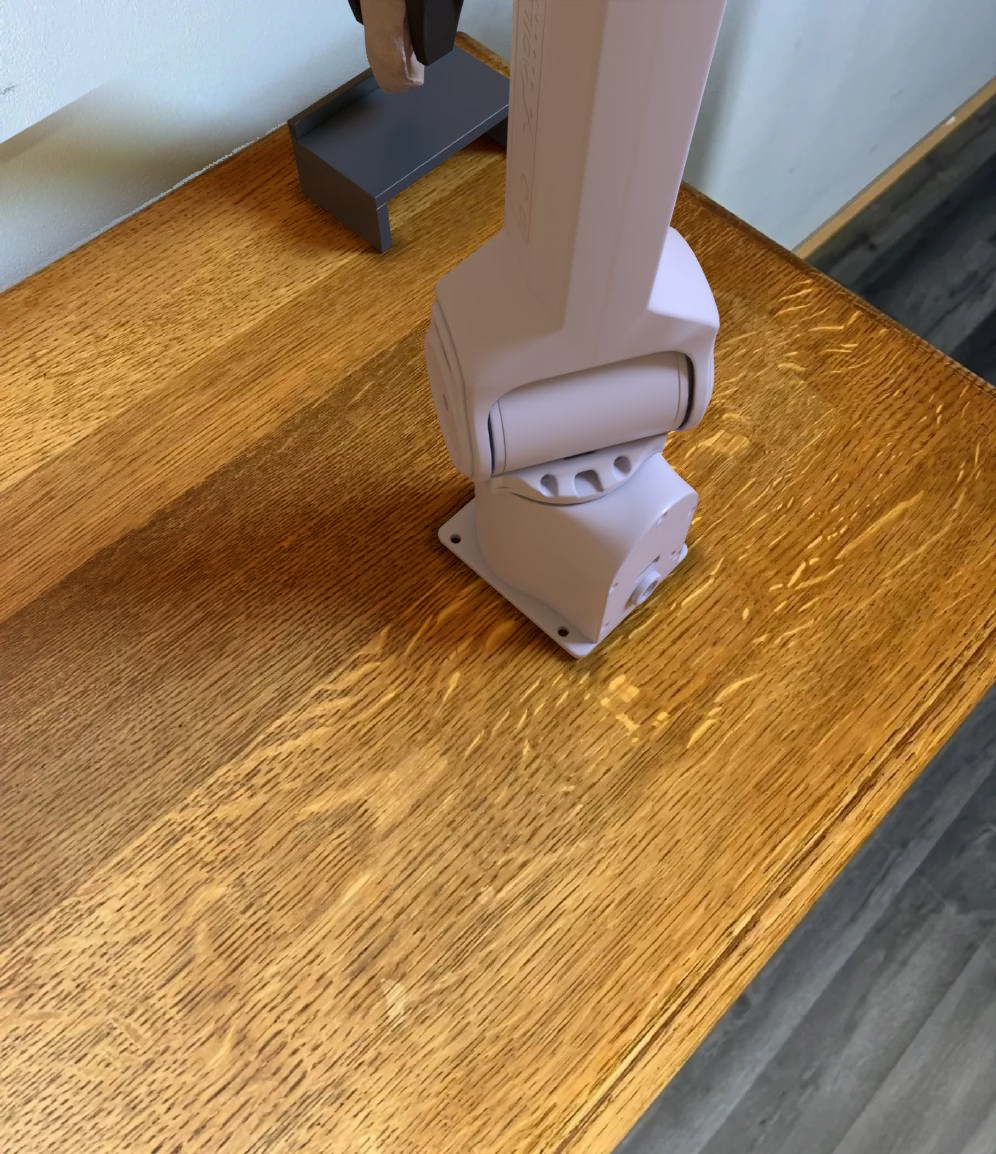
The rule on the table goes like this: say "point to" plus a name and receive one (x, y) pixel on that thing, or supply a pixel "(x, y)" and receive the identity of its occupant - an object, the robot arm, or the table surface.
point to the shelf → (393, 137)
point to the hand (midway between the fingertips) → (403, 34)
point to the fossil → (390, 46)
